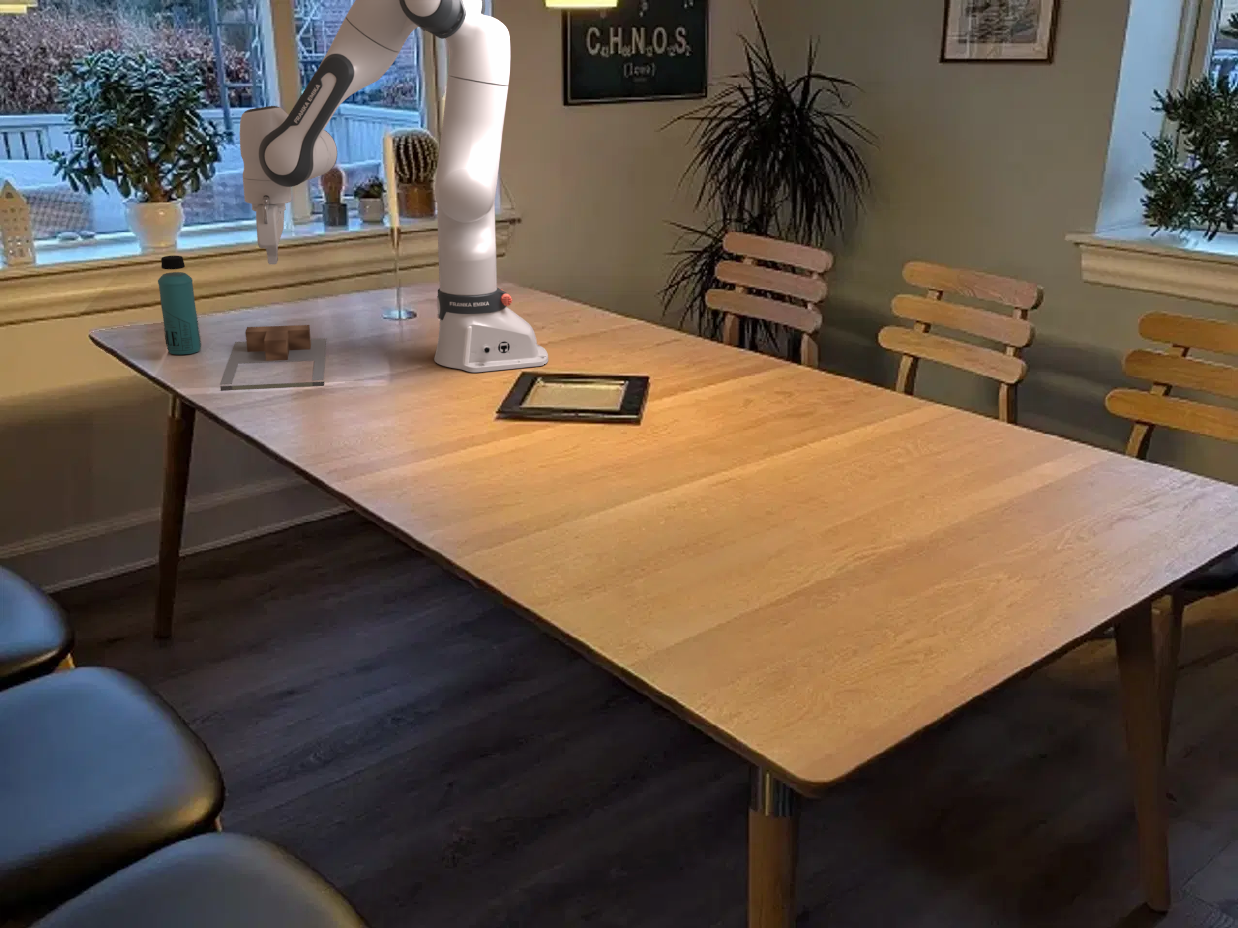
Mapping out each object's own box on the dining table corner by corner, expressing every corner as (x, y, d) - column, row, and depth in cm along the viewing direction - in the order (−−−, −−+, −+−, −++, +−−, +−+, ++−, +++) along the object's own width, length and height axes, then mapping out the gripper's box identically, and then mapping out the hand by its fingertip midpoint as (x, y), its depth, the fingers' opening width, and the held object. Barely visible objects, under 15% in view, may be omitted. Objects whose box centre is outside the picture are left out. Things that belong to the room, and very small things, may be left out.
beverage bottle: (208, 353, 222) (196, 253, 214) (193, 363, 216) (180, 260, 208) (177, 352, 222) (164, 252, 215) (161, 361, 216) (147, 258, 209)
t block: (311, 344, 225) (309, 324, 224) (309, 359, 215) (307, 339, 214) (249, 346, 223) (247, 327, 221) (244, 361, 213) (242, 341, 211)
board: (327, 344, 230) (326, 338, 230) (324, 385, 204) (323, 379, 203) (235, 347, 226) (235, 341, 226) (220, 390, 200) (220, 384, 200)
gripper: (281, 200, 209) (286, 273, 214) (287, 185, 228) (291, 253, 233) (246, 200, 208) (252, 274, 213) (254, 185, 226) (260, 253, 231)
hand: (273, 263), depth 223 cm, fingers closed
